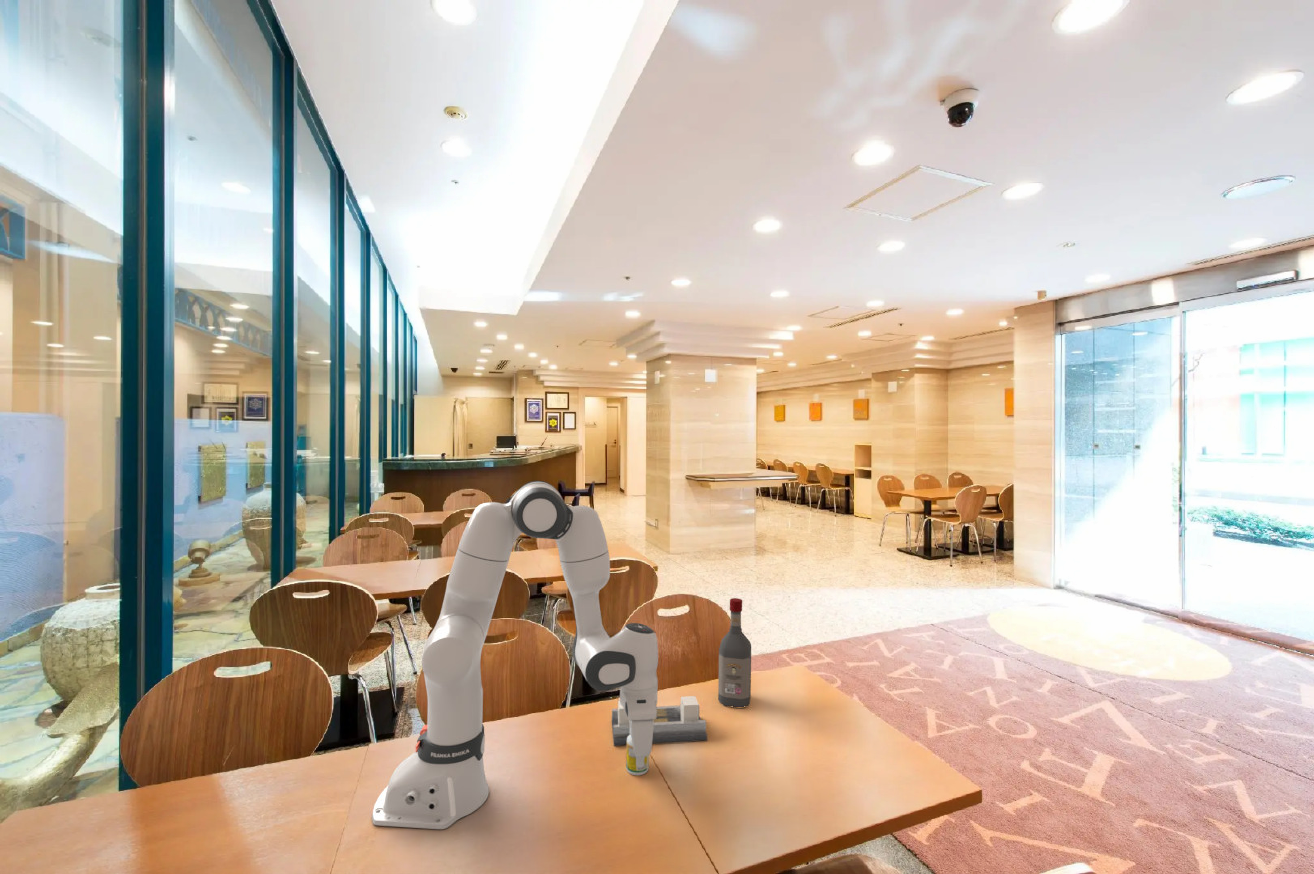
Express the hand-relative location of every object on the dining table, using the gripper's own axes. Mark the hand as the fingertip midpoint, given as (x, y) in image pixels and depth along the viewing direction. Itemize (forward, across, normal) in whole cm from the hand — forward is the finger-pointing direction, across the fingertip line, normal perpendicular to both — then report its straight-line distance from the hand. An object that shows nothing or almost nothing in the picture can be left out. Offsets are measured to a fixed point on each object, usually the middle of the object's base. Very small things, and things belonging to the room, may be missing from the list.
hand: (637, 753), depth 125 cm
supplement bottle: (+4, 0, 0) cm, 4 cm away
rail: (+4, -16, +7) cm, 18 cm away
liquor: (+4, -30, +32) cm, 44 cm away
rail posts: (+2, -16, +7) cm, 18 cm away
